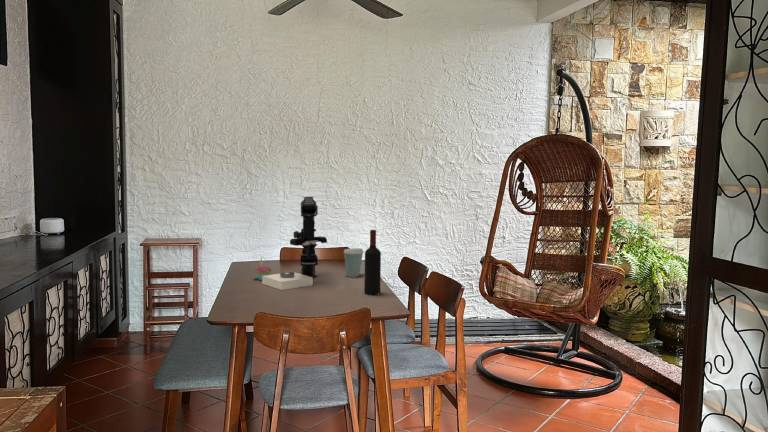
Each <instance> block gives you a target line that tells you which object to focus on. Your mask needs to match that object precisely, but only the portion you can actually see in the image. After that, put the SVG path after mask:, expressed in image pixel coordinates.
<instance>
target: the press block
mask: <svg viewBox="0 0 768 432" xmlns="http://www.w3.org/2000/svg"><path fill="white" fill-rule="evenodd" d="M293 272H294V277H292V278H282V277H280V273H275V274H269V275H266V276H262V280H261V281H262V283H261V284H262V285H265V286H268V287H269V288H270V287H271V288H274V289H276V290H280V291H285V290H290V289H297V288H298V289H299V288H304V287H310V286H311V287H312V286H313V279H314V278H313V277H309V276H306V275H302V274H301V273H298V272H295V271H293Z"/></svg>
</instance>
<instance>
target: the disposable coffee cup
mask: <svg viewBox="0 0 768 432" xmlns="http://www.w3.org/2000/svg"><path fill="white" fill-rule="evenodd" d="M363 254H364V250H363V248H362V247H360V248H358V247H357V248H355V247H354V248H346V249H344V250H343V258H344V264H345V273H346V276H347V277H348V276H349V277H348V278H358V277H359V276H360V272H361V267H362V262H363V261H362V259H363ZM357 276H358V277H357Z"/></svg>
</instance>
